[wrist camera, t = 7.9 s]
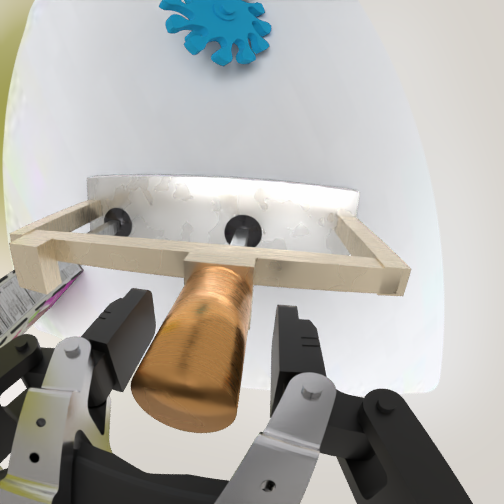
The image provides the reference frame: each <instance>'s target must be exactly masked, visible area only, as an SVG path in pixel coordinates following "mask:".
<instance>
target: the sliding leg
mask: <svg viewBox="0 0 504 504" xmlns="http://www.w3.org/2000/svg"><path fill="white" fill-rule="evenodd" d="M248 233H249V229H236V231H235V234H234V236H233V238H232V241H231V243H230V245H233V246H245V247H247V243H248ZM255 261H256V256H246V255H235V254H223V253H212V252H201V251H190V252H189V254H188V255H187V256H186V258H185V259H184V261H183V262H184V287H183V289H182V291H181V293H180V294H179V296H178V298H177V299H176V301H175V303H174V305H173V306H172V308H171V310H170V311H169V313H168V315H167V317H166V318H165V320H164V322H163V324H162V325H161V327H160V329H159V331H158V333H157V334H156V336H155V338H154V340H153V341H152V343H151V345H150V347H149V349H148V350H147V352H146V354H145V356H144V358H143V360H142V361H141V363H140V365H139V367H138V369H137V371H136V373H135V374H134V376H133V378H132V381H131V391H132V394H133V397H134V398H135V400H136V402H137V403H138V404H139V406H140V407H141V408H142V409H143V410H144V411H146V413H148V414H149V415H151V416H152V417H153V418H154V419H156V420H158V421H159V422H162V423H163V424H165V425H168V426H170V427H173V428H176V429H179V430H183V431H187V432H194V433H210V432H216V431H219V430H222V429H224V428H226V427H228V426H229V425H231V424H232V423H233V421H234V420H235V418H236V415H237V408H238V401H239V393H240V386H241V378H242V371H243V363H244V356H245V348H246V341H247V333H248V330H249V329H250V321H251V312H252V299H253V287H254V274H255Z"/></svg>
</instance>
